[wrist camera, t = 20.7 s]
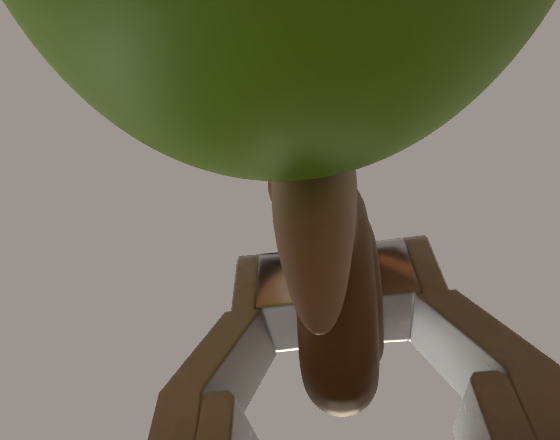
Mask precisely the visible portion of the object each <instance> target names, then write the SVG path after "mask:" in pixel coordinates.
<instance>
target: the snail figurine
mask: <svg viewBox="0 0 560 440" xmlns="http://www.w3.org/2000/svg"><path fill="white" fill-rule="evenodd" d="M3 2H4V3H5V5H6V6H7V8H8V9H9V11H10V13H11V14H12V16H13V17H14V19H15V20H16V21H17V23H18V24H19V26H20V27H21V29H22V30H23V31H24V33H25V34H26V35H27V37H28V38H29V39H30V41H31V42H32V43H33V45H34V46H35V47H36V48H37V50H38V51H39V52H40V53H41V55H42V56H43V57H44V58H45V59H46V61H47V62H48V63H49V64H50V65H51V66H52V67H53V69H54V70H55V71H56V72H57V73H58V74H59V75H60V76H61V77H62V78H63V80H64V81H65V82H67V84H68V85H69V86H70V87H72V88H73V90H74V91H76V92H77V93H78V94H79V95H80V96H81V97H82V98H83V99H84V100H85V101H86V102H87V103H89V104H90V105H91V106H92V107H93V108H94V109H96V110H97V111H98V112H99V113H100V114H102V115H103V116H104V117H106V118H107V119H108V120H109V121H111V122H112V123H114V124H115V125H116V126H118V127H119V128H120V129H122V130H123V131H125V132H126V133H128V134H129V135H131V136H132V137H134V138H136V139H137V140H139V141H141V142H142V143H144V144H146V145H148V146H149V147H151V148H153V149H155V150H157V151H159V152H161V153H163V154H165V155H167V156H169V157H171V158H174V159H176V160H179V161H181V162H183V163H186V164H188V165H191V166H194V167H197V168H200V169H203V170H207V171H210V172H214V173H217V174H221V175H226V176H231V177H237V178H242V179H250V180H261V181H268V190H269V195H270V198H271V201H272V212H273V223H274V230H275V236H276V243H277V248H278V253H279V258H280V262H281V266H282V270H283V274H284V278H285V281H286V285H287V288H288V291H289V294H290V297H291V300H292V303H293V305H294V308H295V310H296V312H297V336H298V350H299V360H300V368H301V374H302V379H303V383H304V386H305V389H306V392H307V394H308V396H309V397H310V399H311V400H312V401H313V403H314V404H315V405H316V406H317V407H319V408H320V409H321V410H322V411H324V412H326V413H328V414H330V415H334V416H338V417H347V416H351V415H355V414H357V413H359V412H361V411H362V410H363V409H364V408H366V407H367V406H368V405H369V404H370V402H371V401H372V399H373V397H374V395H375V393H376V390H377V386H378V378H379V361H380V359H381V357H382V354H383V349H384V307H383V294H382V282H381V273H380V264H379V257H378V252H377V246H376V241H375V237H374V234H373V231H372V228H371V225H370V223H369V221H368V217H367V212H366V208H365V204H364V201H363V199H362V197H361V195H360V193H359V191H358V190H357V179H356V169H358V168H362V167H364V166H367V165H370V164H373V163H375V162H378V161H380V160H382V159H385V158H387V157H389V156H391V155H394V154H395V153H398V152H400V151H402V150H404V149H405V148H407V147H409V146H411V145H412V144H414V143H416V142H418V141H419V140H421V139H423V138H424V137H426V136H428V135H429V134H431V133H432V132H434V131H435V130H437V129H438V128H439V127H441V126H442V125H443V124H445V123H446V122H448V121H449V120H450V119H452V118H453V117H454V116H455V115H457V114H458V113H459V112H460V111H462V110H463V109H464V108H465V107H466V106H467V105H469V104H470V103H471V102H472V101H473V100H474V99H475V98H476V97H477V96H479V95H480V94H481V93H482V92H483V91H484V90H485V89H486V88H487V87H488V86H489V85H490V84H491V83H492V82H493V81H494V80H495V79H496V77H498V76H499V74H500V73H501V72H502V71H503V70H504V69H505V68H506V67H507V66H508V64H509V63H510V62H511V61H512V60H513V59H514V57H515V56H516V55H517V54H518V52H519V51H520V50H521V49H522V47H523V46H524V45H525V44H526V42H527V41H528V40H529V38H530V37H531V36H532V34H533V33H534V32H535V30H536V29H537V28H538V26H539V25H540V23H541V22H542V20H543V19H544V17H545V16H546V14H547V13H548V11H549V10H550V8H551V7H552V5H553V3H554V2H555V0H3Z"/></svg>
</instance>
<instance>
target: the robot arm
mask: <svg viewBox="0 0 560 440" xmlns="http://www.w3.org/2000/svg"><path fill="white" fill-rule="evenodd" d="M376 246H377V252H378V257H379V264H380V273H381V282H382V294H383V307H384V342H396V341H410V342H411V344H412V345H413V346H414V347H415V348H416V349H417V350H418V351H419V352H420V353H421V354H422V356H423V357H424V358H425V359H426V360H427V361H428V362H429V363H430V364H431V365H432V366H433V367H434V368H435V370H436V371H437V372H438V373H439V374H440V375H441V376H442V377H443V378H444V379H445V380H446V381H447V382H448V384H449V385H450V386H451V387H452V388H453V389H454V390H455V391H456V392H457V393H458V394H459V395H460V396H461V397H462V399H463V400H462V403H461V406H460V408H459V412H458V414H457V417H456V420H455V423H454V426H453V428H452V430H453V433H454V436H455V440H560V366H559V364H557V363H556V362H555V361H553V360H552V359H551V358H549V357H548V356H546V355H545V354H544V353H542V352H541V351H540V350H538V349H537V348H535V347H534V346H533V345H531V344H530V343H529V342H527V341H526V340H524V339H523V338H522V337H520V336H519V335H518V334H516V333H515V332H513V331H512V330H511V329H509V328H508V327H507V326H505V325H504V324H502V323H501V322H500V321H498V320H497V319H496V318H494V317H493V316H491V315H490V314H489V313H487V312H486V311H485V310H483V309H482V308H480V307H479V306H478V305H476V304H475V303H474V302H472V301H471V300H469V299H468V298H467V297H465V296H464V295H463V294H461V293H460V292H458V291H457V290H449V289H448V287H447V284H446V282H445V279H444V277H443V275H442V272H441V270H440V267H439V265H438V262H437V260H436V258H435V255H434V253H433V251H432V248H431V246H430V243H429V241H428V238H427V237H426V236H414V237H406V238H403V239H402V238H398V239H389V240H381V241H376ZM289 350H298V336H297V312H296V310H295V308H294V305H293V303H292V300H291V297H290V294H289V291H288V288H287V285H286V281H285V278H284V274H283V270H282V266H281V262H280V258H279V253H266V254H259V255H248V256H239V258H238V261H237V266H236V274H235V283H234V292H233V300H232V308H231V311H230V312H225V313H224V314H223V315H222V317H221V318H220V319H219V321H218V322H217V323H216V324H215V325H214V327H213V328H212V329H211V330H210V331H209V333H208V334H207V335H206V336H205V338H204V339H203V340H202V341H201V342H200V344H199V345H198V346H197V347H196V348H195V350H194V351H193V352H192V354H191V355H190V356H189V357H188V358H187V360H186V361H185V362H184V363H183V364H182V366H181V367H180V368H179V369H178V371H177V372H176V373H175V374H174V375H173V377H172V378H171V379H170V380H169V382H168V383H167V384H166V385H165V387H164V388H163V389H162V390H161V391H160V393H159V396H158V400H157V404H156V408H155V412H154V416H153V420H152V424H151V429H150V433H149V437H148V440H258V438H257V436H256V434H255V432H254V431H253V429H252V427H251V425H250V423H249V421H248V419H247V418H246V416H245V414H244V412H245V410H246V408H247V406H248V404H249V402H250V401H251V399H252V397H253V395H254V394H255V392H256V390H257V388H258V386H259V385H260V383H261V380H262V379H263V377H264V376H265V374H266V372H267V370H268V368H269V367H270V365H271V363H272V361H273V359H274V357H275V356H276V352H280V351H289Z"/></svg>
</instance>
